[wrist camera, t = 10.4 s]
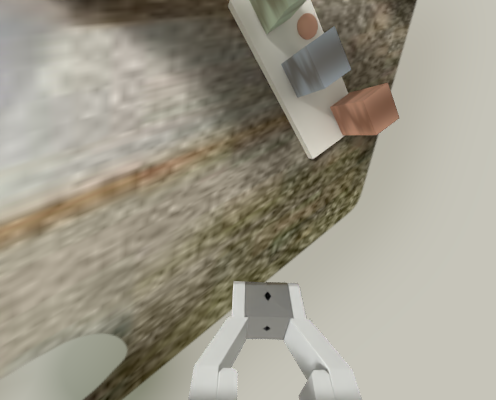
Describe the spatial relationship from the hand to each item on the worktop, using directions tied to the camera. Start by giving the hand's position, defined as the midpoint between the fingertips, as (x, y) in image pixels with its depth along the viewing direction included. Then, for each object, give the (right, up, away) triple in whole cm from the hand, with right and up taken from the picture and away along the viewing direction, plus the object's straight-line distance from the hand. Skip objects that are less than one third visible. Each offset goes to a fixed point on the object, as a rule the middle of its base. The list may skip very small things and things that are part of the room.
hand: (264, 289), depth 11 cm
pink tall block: (+15, +18, +26) cm, 34 cm away
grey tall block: (+7, +22, +22) cm, 32 cm away
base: (+7, +23, +24) cm, 34 cm away
